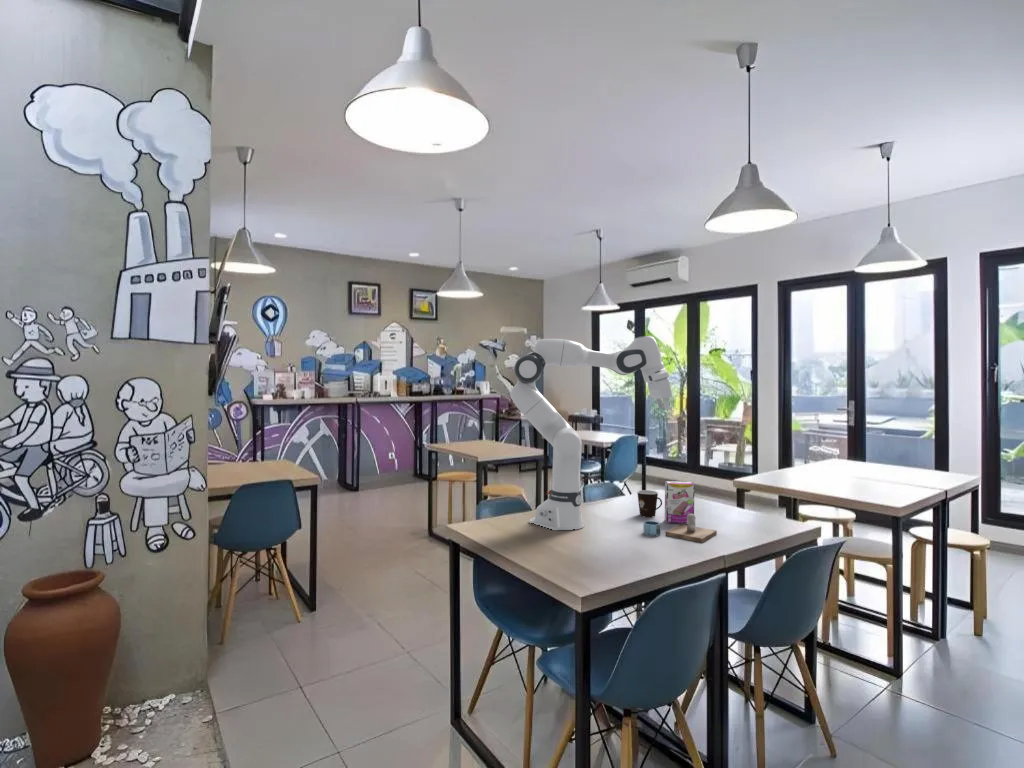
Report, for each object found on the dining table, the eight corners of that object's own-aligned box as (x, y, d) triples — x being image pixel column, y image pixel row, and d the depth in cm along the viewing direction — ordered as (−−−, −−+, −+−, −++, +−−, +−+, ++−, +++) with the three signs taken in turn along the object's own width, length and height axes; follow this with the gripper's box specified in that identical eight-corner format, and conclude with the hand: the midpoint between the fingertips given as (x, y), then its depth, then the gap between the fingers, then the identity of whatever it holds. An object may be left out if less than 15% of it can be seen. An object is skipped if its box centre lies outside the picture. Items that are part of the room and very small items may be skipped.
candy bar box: (666, 523, 218) (666, 483, 218) (664, 520, 223) (664, 480, 223) (694, 524, 217) (694, 483, 217) (691, 521, 222) (692, 481, 222)
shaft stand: (665, 535, 201) (665, 514, 200) (680, 527, 211) (680, 507, 211) (702, 542, 191) (702, 520, 191) (716, 534, 202) (716, 513, 202)
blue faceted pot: (661, 536, 200) (661, 525, 200) (644, 535, 200) (644, 524, 200) (658, 531, 206) (658, 521, 206) (642, 531, 206) (642, 520, 206)
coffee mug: (634, 513, 235) (634, 490, 235) (653, 512, 236) (653, 490, 236) (643, 519, 223) (643, 495, 223) (663, 519, 224) (663, 495, 224)
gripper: (641, 377, 222) (650, 409, 222) (653, 377, 202) (663, 412, 201) (656, 373, 222) (665, 405, 222) (669, 372, 201) (679, 407, 201)
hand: (664, 408), depth 211 cm, fingers open, 8 cm apart
